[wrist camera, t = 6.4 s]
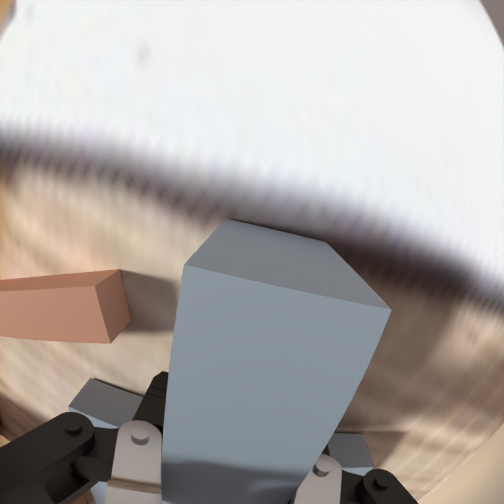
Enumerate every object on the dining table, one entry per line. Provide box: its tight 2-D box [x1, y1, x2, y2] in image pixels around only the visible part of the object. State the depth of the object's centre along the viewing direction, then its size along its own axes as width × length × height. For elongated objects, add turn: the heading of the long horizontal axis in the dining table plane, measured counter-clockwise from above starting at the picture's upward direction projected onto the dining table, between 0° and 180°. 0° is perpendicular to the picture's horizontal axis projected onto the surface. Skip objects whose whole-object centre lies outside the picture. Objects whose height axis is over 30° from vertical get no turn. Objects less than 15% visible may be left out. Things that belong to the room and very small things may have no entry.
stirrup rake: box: [68, 219, 392, 504], centre depth 10 cm, size 23×14×6 cm, turn 167°
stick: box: [0, 269, 132, 343], centre depth 11 cm, size 10×2×2 cm, turn 96°
